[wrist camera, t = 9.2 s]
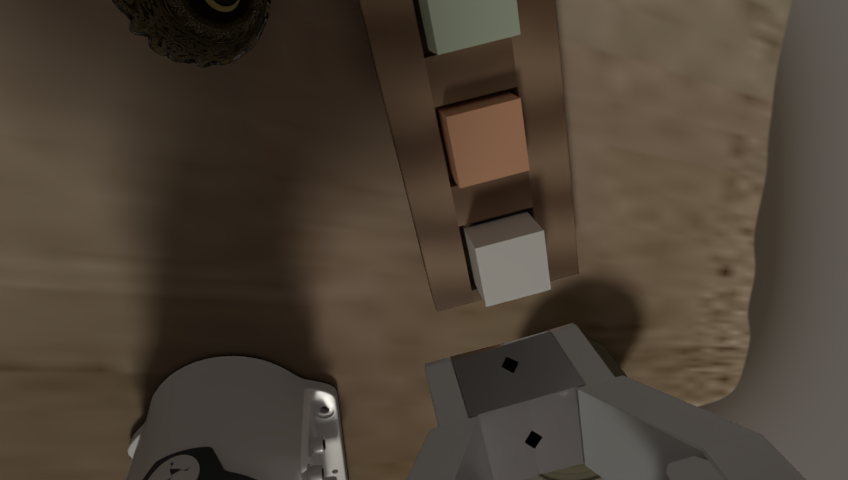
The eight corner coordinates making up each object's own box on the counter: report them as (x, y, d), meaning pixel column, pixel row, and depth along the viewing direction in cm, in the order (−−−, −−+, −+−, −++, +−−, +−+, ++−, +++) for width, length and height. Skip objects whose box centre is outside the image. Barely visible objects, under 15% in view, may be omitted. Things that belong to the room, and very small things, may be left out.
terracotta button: (513, 156, 38) (529, 170, 35) (449, 173, 38) (459, 188, 35) (504, 89, 36) (520, 98, 32) (436, 106, 35) (445, 117, 32)
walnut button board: (564, 256, 44) (579, 273, 41) (430, 292, 43) (437, 311, 41) (529, -92, 32) (546, -101, 29) (346, -49, 32) (346, -53, 29)
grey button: (534, 267, 40) (551, 289, 37) (474, 283, 40) (486, 307, 37) (527, 211, 38) (543, 230, 35) (463, 228, 38) (475, 248, 35)
